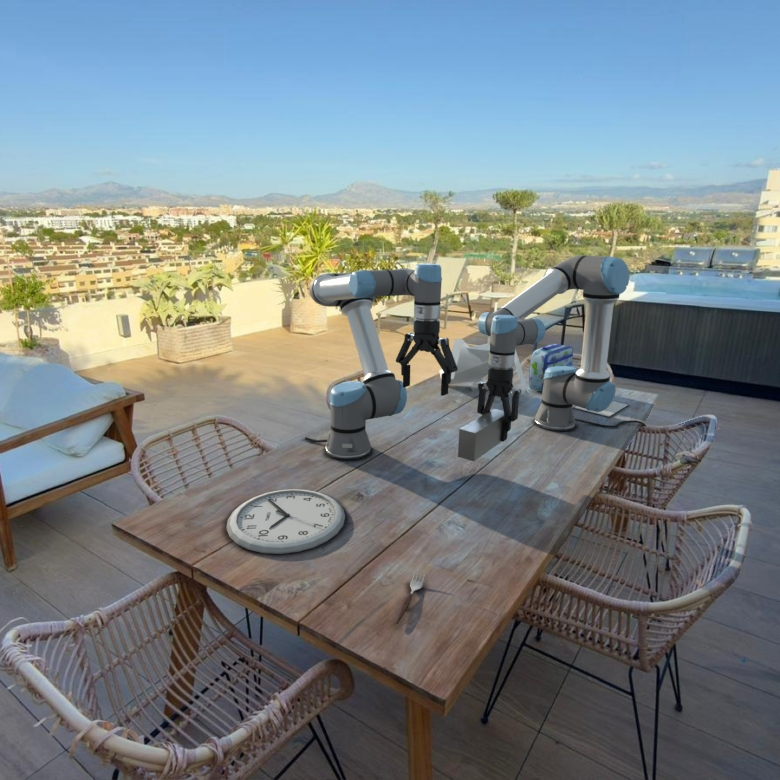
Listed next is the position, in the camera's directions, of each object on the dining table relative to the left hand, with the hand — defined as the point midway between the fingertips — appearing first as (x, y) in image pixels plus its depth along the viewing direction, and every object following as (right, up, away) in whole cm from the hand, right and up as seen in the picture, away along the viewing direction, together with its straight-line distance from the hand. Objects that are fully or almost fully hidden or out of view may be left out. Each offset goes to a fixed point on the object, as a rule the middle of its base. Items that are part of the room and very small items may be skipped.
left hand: (424, 390), depth 156 cm
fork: (-6, -43, -49) cm, 65 cm away
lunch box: (+66, +1, +95) cm, 116 cm away
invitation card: (+81, -7, +71) cm, 108 cm away
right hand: (+23, -15, +10) cm, 29 cm away
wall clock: (-37, -34, -20) cm, 54 cm away
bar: (+18, -17, +4) cm, 25 cm away
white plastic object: (+31, -1, +88) cm, 93 cm away
